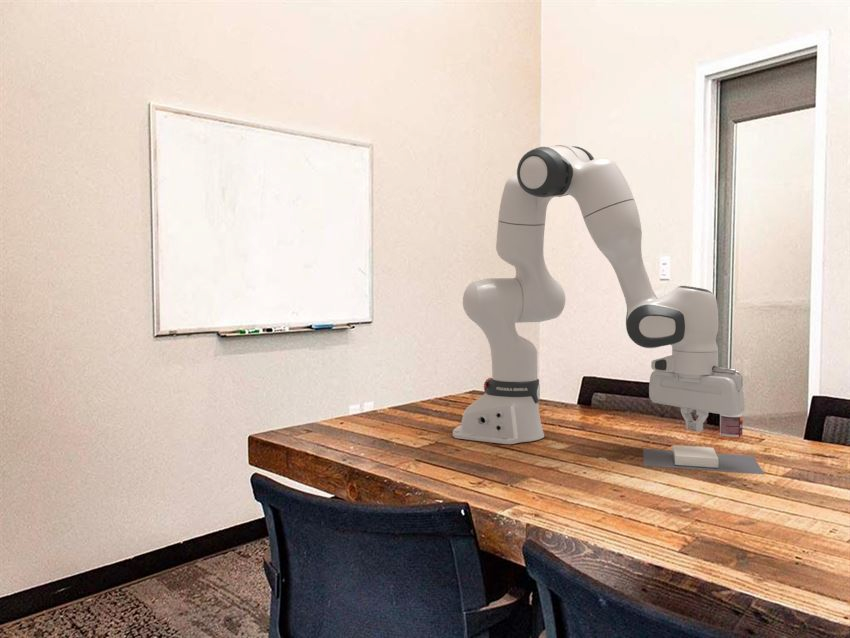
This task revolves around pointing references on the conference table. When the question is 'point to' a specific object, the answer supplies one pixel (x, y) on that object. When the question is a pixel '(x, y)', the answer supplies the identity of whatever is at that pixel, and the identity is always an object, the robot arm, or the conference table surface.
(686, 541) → the conference table surface
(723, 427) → the pill bottle
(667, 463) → the mat
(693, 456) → the tile
